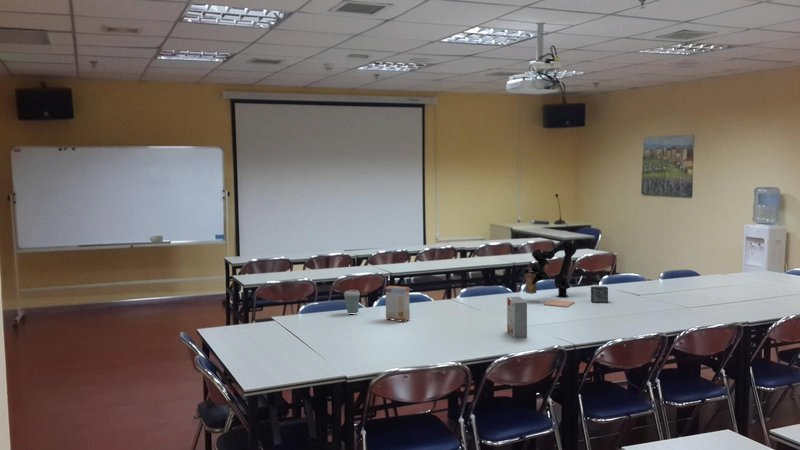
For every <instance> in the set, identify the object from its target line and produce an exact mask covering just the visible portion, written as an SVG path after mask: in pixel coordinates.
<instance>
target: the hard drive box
mask: <svg viewBox="0 0 800 450" xmlns="http://www.w3.org/2000/svg"><path fill="white" fill-rule="evenodd" d="M506 314H507V315H506V321H507V322H506V324H507V325H506V329H507V330H506V331H507V332H508V334H510V336H511V337H512V338H514V337H526V338H527V337H528V302H527V301H526V300H524V298H522V297H521V296H506Z"/></svg>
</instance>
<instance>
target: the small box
mask: <svg viewBox="0 0 800 450" xmlns="http://www.w3.org/2000/svg"><path fill="white" fill-rule="evenodd" d="M590 302H591V303H592V304H605V303H606V304H607V303H609V287H607V286H606V285H605V286H604V285H603V286H601V285H600V286H594V285H593V286H590Z"/></svg>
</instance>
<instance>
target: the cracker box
mask: <svg viewBox="0 0 800 450" xmlns="http://www.w3.org/2000/svg"><path fill="white" fill-rule="evenodd" d="M386 318H387V319H394V320H401V321H406V322H408V321H407V320H409V319H410V318H411V315H410V287H409V286H399V285H388V286H385V319H386ZM410 320H411V319H410ZM410 320H409V321H410ZM401 321H400V322H401Z"/></svg>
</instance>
